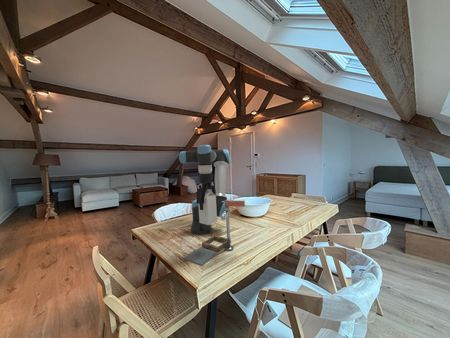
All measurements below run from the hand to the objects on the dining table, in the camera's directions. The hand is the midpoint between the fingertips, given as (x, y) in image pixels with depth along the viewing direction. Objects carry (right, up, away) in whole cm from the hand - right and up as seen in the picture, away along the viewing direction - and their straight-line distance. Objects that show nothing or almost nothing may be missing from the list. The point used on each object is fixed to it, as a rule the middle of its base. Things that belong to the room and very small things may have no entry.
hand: (207, 213), depth 104 cm
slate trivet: (-3, -22, -5) cm, 23 cm away
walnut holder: (+5, -21, +7) cm, 22 cm away
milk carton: (0, -5, 0) cm, 5 cm away
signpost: (+15, -20, -4) cm, 25 cm away
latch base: (+12, -21, +2) cm, 24 cm away
